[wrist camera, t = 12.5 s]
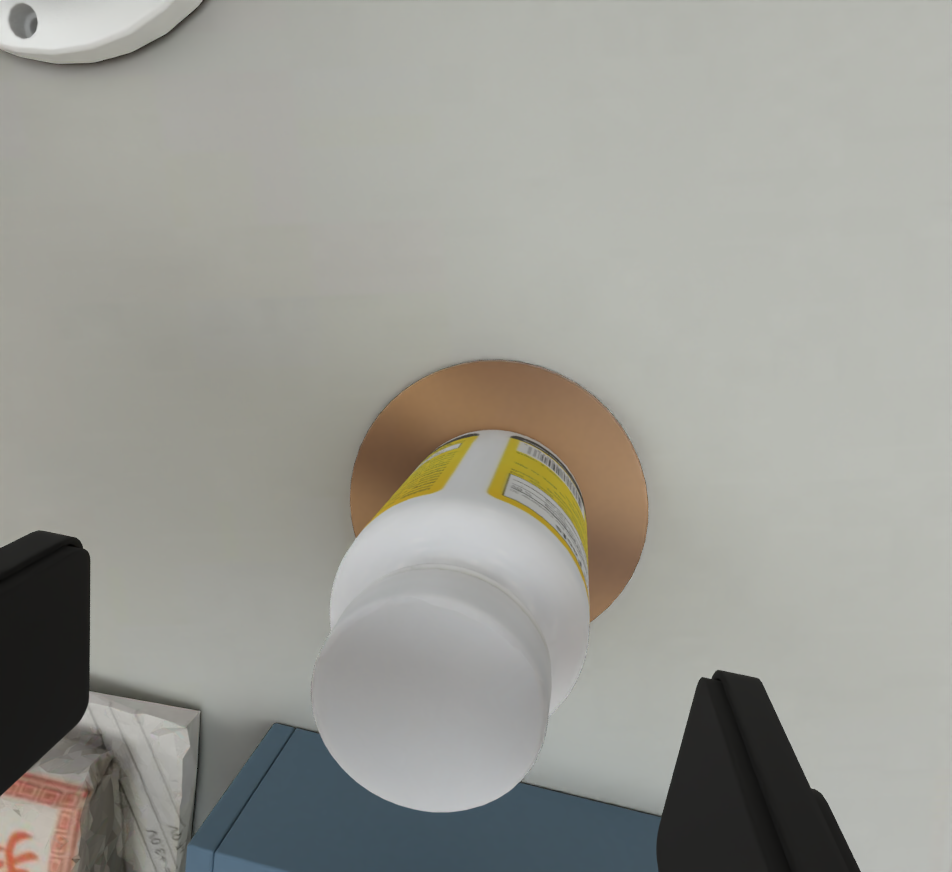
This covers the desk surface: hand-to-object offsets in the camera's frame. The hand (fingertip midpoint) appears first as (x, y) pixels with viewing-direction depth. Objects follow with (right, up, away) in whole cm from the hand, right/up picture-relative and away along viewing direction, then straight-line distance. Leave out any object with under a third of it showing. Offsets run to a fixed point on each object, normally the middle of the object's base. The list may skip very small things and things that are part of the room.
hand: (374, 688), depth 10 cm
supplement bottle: (+2, +1, +11) cm, 11 cm away
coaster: (+2, +2, +11) cm, 11 cm away
